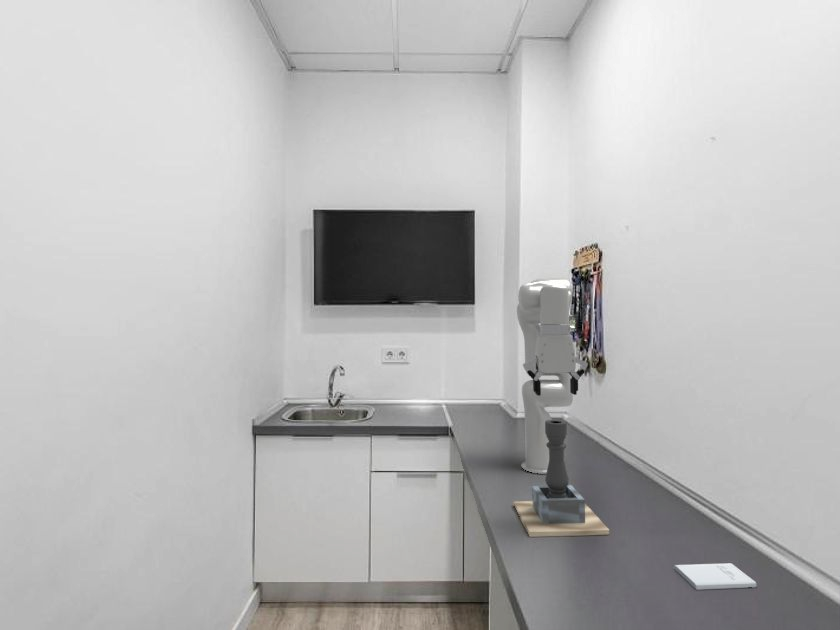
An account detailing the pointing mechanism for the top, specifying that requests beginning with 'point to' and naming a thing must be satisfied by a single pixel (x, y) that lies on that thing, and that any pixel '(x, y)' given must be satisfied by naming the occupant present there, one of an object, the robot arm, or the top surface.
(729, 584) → the external hard drive
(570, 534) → the socket board
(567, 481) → the candle holder
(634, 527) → the top surface
